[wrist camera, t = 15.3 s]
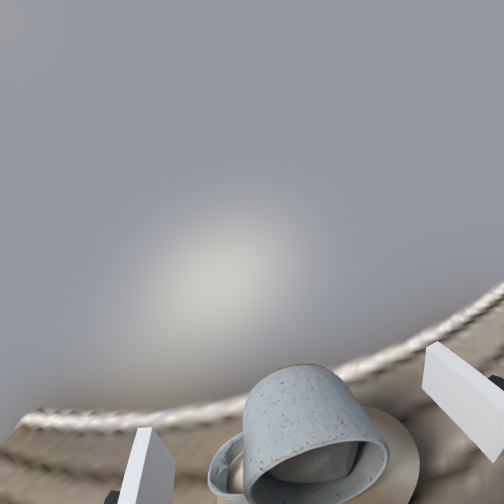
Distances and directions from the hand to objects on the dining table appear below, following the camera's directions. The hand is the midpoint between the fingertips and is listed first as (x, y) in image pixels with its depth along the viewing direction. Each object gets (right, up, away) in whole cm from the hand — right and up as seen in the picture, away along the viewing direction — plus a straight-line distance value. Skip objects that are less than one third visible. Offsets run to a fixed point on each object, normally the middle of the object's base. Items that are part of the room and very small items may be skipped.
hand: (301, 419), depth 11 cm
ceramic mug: (+1, -8, +3) cm, 8 cm away
